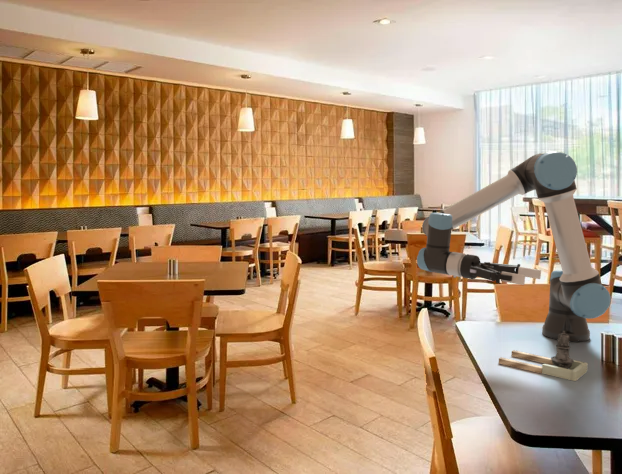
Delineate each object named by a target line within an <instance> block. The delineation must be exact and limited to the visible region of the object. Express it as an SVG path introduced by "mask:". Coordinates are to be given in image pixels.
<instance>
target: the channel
mask: <svg viewBox="0 0 622 474" xmlns="http://www.w3.org/2000/svg"><path fill="white" fill-rule="evenodd" d="M511 357H515V358H519V359H524V360H527V361H533V362H537V363H540V364H548V365H552V366H554V365H553V363H552V360H551V358H550V357H547V356H543V355H538V354H534V353H533V354H532V353H528V352H523V351H520V350H519V351H518V350H515V349H513V350H511ZM499 364H500V365H503V366H509V367H512V368H517V369H520V370H525V371H530V372H534V373H537V374H541V375H542V374H543V373H542V365H541V366H540V365H536V364H532V363H528V362H524V361H520V360H515V359H510V358H506V357H502V356H500V357H499V358H498V365H499Z"/></svg>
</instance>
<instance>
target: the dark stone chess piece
mask: <svg viewBox="0 0 622 474" xmlns="http://www.w3.org/2000/svg"><path fill="white" fill-rule="evenodd" d="M555 347H556V355H554V356H551V360H552V363H553V365H552V366H557V367H561V368H566V369H569V368H571V366H572V363H573V362H574V360H575V359H573V358H571V357H570V355H569V354H570V349H571V346H570V341H569V335H567V334H566V333H565V331H563V333H561V334H559V335H558V340H557V344H556V345H555Z"/></svg>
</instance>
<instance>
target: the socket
mask: <svg viewBox="0 0 622 474" xmlns="http://www.w3.org/2000/svg"><path fill="white" fill-rule="evenodd" d="M573 360H574V362H573V363H572V366H571V368H569V369H566V368H561V367H557V366H554V365H549V364H545V363H541V364H542V365H541V367H542V374H544V375H549V376H552V377H556V378H560V379H564V380H569V381H573V382H576V381H578V380H580V378H581V377H583V376H584V375H585V374H586V373H587V372H588V365H589V363H588V362H585V361H579V360H575V359H573Z"/></svg>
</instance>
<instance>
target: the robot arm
mask: <svg viewBox="0 0 622 474" xmlns="http://www.w3.org/2000/svg"><path fill="white" fill-rule="evenodd" d="M577 167H578V166H577V165H576V161H575V160H574V158H572V157H571V156H570V155H569V154H567V153H565V152H562V151H558V150H556V151H555V150H551V151H547V152H546V151H545V152H539V153H537V154H534V155H532V156H530V157H528V158H527V159H526V160H523V162H521V163H519V164H518V165H516V166H515V167H512V168H511V169H509V170H508V172H507V174H506V175H505V176H502V177H501V178H499V179H497V180H496V181H494V182H492V183H490V184H488V185H486V186H485V187H483V188H481V189H479V190H477V191H475V192H474V193H472V194H471V195H468V196H467V197H464V198H463V199H461V200H459V201H457V202H456V203H454V204H452V205H450V206H448V207H446V208H445V209H443V210H442V211H440V212H431V213H430V214H429V216H428V217H426V218H425V219H424V220H423V222H422V227H421V228H422V232H423V234H425V236H426V244H425V245H426V246H425V247H422V248H420V250H419V251H418V254H417V257H416V263H417V266H418V268H419V269H420V270H423V271H427V272H430V273H437V274H442V275H443V274H444V275H447V276H453V277H452V278H457V277H458V278H459V277H460V278H464V279H469V280H475V279H477V278H478V277H479V278H481V279H485V280H489V281H491V282H495V284H500V283H501V282H504V283H510V284H516V285H522V286H524V285H525V282H526V280H525V279H526V278H530V279H531V278H532V279H537V280H540V279H541V277H542V275H541V274H542V269H537V268H536V269H535V268H531V267H525V266H521V264H520V263H517V265H516V264H505V263H496V262H489V261H484V262H481V259H480V257H479V256H478V255H474V254H466V253H463V252H458V251H450V248H451V246H450V245H451V239H452V238H451V237H452V231H453V230H454V229H457V228H458V227H460V226H462V225H464V224H466V223H467V222H469V221H471V220H474V219H475V218H477V217H479V216H480V215H482V214H484V213H486V212H488V211H490V210H492V209H493V208H495V207H498V206H499V205H501V204H503V203H505V202H507V201H508V200H511V199H512V198H514V197H517V195H521V196H524V195H526V194H527V193H530V192H532V191H535V193H536V197H537V200H540V201H541V202H542V203H543V204H544V206H545V207H544V208H545V211H546V215H547V218H548V222H549V226H550V229H551V233H552V236H553V241H554V244H555V245H554V246H555V247H556V253H557V256H558V259H559V263H560V267H561V270H553V271H551V273H550V279H549V299H548V300H549V302H548V313H547V315H546V318H545V320H544V324H543V325H542V328H541V334H542V335H543V336H545V337H547V338H549V339H554V340H557V341H558V335H559V334H561V333H563V331H565V333H566V334H567V335H569V342H587V341H589V340H590V337H591V332H590V329H589V325H588V321H587V319H591V320H592V319H596V318H599V317H601V316H602V315H604V314H605V313H606V312H607V310H608V309H609V307H610V305H611V299H612V297H611V294H610V292H609V290H608V289H607V288H606V286H604V285H603V283H602V281H601V277H600V273H599V270H597V269H595V268H594V267H593V266H592V263H591V260H590V254H589V252H588V248H587V244H586V241H585V236H584V232H583V229H582V225H581V221H580V217H579V214H578V210H577V206H576V202H575V198H574V194H575V193H576V192H577V189H578V188H577V185H576V181H575V180H576V178H577V175H578V174H577V173H578V168H577Z"/></svg>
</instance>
